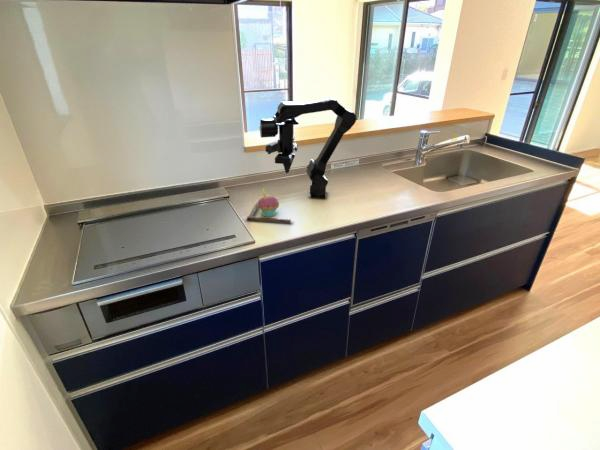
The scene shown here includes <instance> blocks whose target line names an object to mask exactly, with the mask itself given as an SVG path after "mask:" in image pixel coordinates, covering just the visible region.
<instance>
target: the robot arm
mask: <svg viewBox="0 0 600 450" xmlns="http://www.w3.org/2000/svg"><path fill="white" fill-rule="evenodd" d="M327 111H332V112H333V113H334V114H335V115H336V118H335V121H334V128H333V129H332V131H331V132H330V135H329V137H328V139H327V140H326V142H325V143H324V145H323V147H322V149H321V151H320V152H319V154H318V156H317V158H316V159H314V160H313V159H310V160H309V162H308V165H307V166H306V171H305V172H306V175H307V176H308V178H309V180H310V181H311V184H310V186H309V195H310V199H321V200H322V199H323V200H325V199H326V198H327V197H326V196H327V185H328V184H329V180H328V179H327V178H326V176H325V173H326V168H327V164H328V162H329V161H330V159H331V157H332V155H333V154H334V152H335V150H336V148H337V147H338V145H339V143H340V142H341V140H342V139H343V137H344V135H345V134H346V133H347V132H348V131H350V130H351V129H352V128H353V127H354V125H355V124H356V122H357V115H356V113H354V112H353V111H352V110H350V109H348V108H345V107H344V106H343V105H341V104H340V103H339V102H338V101H337V100H336V99H335V98H332V97H328V98H325V99H319V100H311V101H305V102H295V101H281V102H280V103H279V104H278V106H277V111H276V112H275V114H274V115H273V116H272V118H267V119H265V118H260V120H259V134H260V135H259V136H260V138H262V139H263V138H275V137H276V136H278V139H277V140H275V141H273V142H272V141H271V142H269V143H268V144H266V145H265V150H264V151H265V152H267V155H271V154H273V153H276V152H277V154H276V155H275V157H274V164H281V165H283V169H284V171H285V173H286V174H288V173H289V172H290V170H291V168H292V165H293V162H294V159H295V157H296V154H295V153H294V152H298V144H297V143H296V142H295V135H294V134H295V133H294V125H298V126H299V122H298V120H296V118H298V117H299V116H302V115H307V114H313V113H319V112H320V113H321V112H327Z"/></svg>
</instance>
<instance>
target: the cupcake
mask: <svg viewBox="0 0 600 450" xmlns="http://www.w3.org/2000/svg"><path fill="white" fill-rule="evenodd" d="M261 191H262V195H263V197H261V198H259V200H258V201H257V203H258V209H259V210H260V211H261V214H262V215H263V216H264V217H266V218H270V217H274V216H275V214H276V210H277V209H278V208H279V207H280V203H279V202H280V201H279V200H278V198H276V197H274V196H270V195H269V196H267V195H266V192H265V189H264V188H263V186H262V187H261Z"/></svg>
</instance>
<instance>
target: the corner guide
mask: <svg viewBox="0 0 600 450" xmlns="http://www.w3.org/2000/svg"><path fill="white" fill-rule="evenodd" d="M258 209H259V208H258V202H256V203H255V205H254V207H253V208H252V210H251V212H250V214H249V215H248V216H247V217H246V221H247V222H259V223H272V224H283V225H284V224H285V225H291V223H292V219H290V218H279V217H277V218H275V217H265V216H264V217H262V216H255V214H256V213H257V212H258Z"/></svg>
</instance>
